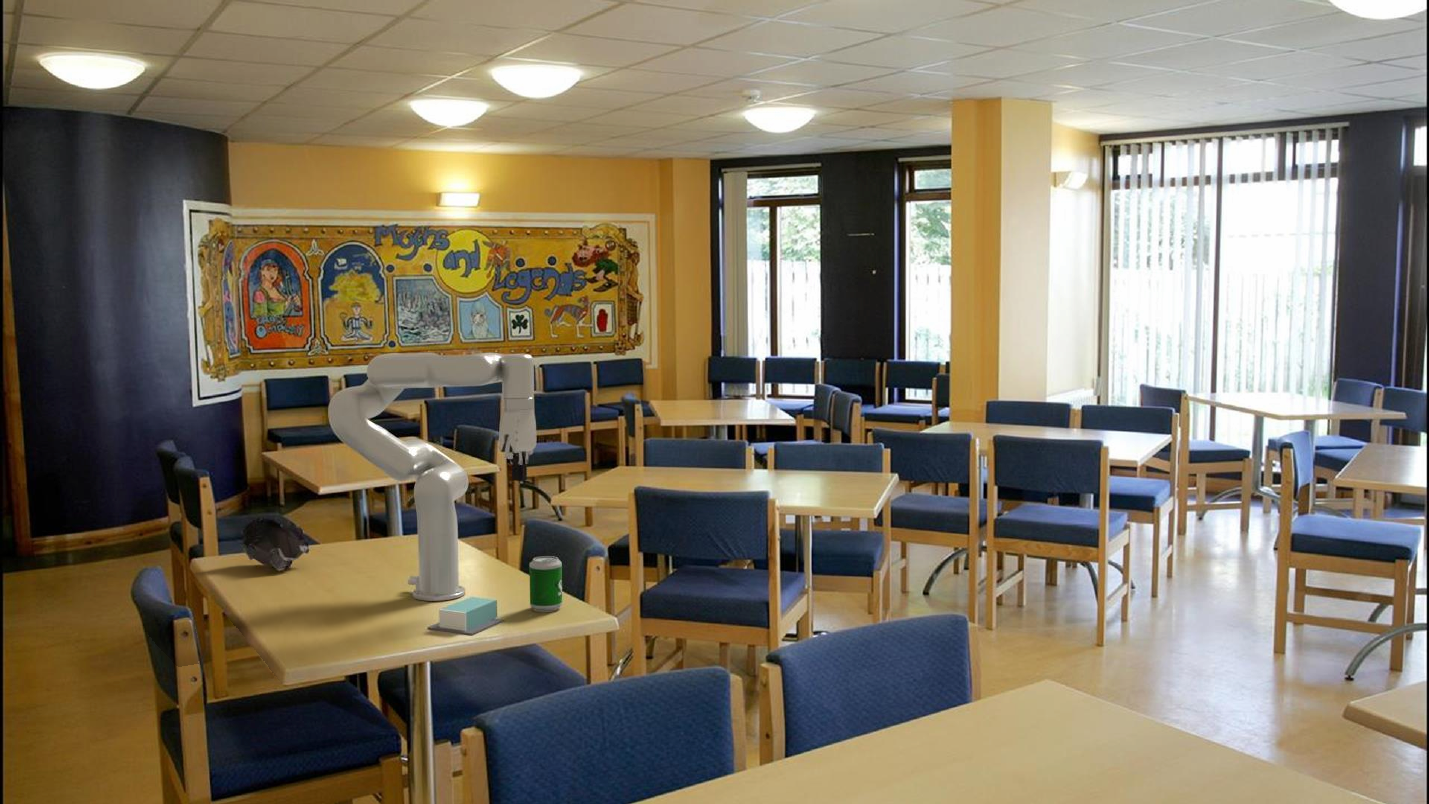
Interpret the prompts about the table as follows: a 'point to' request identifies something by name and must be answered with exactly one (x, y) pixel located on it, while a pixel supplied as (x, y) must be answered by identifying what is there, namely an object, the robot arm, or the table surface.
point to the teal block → (467, 613)
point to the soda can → (545, 584)
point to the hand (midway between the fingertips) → (519, 480)
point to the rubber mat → (470, 631)
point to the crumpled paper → (273, 542)
